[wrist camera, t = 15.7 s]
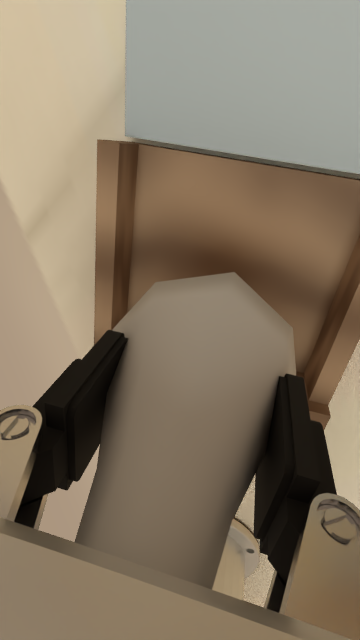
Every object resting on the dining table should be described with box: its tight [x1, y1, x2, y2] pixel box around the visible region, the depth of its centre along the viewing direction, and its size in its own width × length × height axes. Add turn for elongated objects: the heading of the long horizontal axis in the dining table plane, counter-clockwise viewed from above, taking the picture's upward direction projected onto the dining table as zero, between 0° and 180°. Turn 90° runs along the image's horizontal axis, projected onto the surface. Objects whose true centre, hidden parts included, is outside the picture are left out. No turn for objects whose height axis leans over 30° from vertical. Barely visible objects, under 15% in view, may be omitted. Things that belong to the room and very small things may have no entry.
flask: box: [75, 272, 296, 589], centre depth 9 cm, size 7×7×10 cm
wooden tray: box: [94, 139, 360, 430], centre depth 21 cm, size 14×16×6 cm
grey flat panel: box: [125, 0, 360, 174], centre depth 17 cm, size 2×15×7 cm
